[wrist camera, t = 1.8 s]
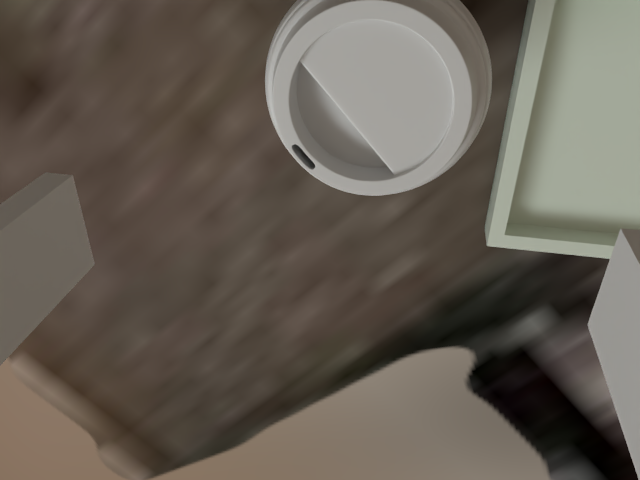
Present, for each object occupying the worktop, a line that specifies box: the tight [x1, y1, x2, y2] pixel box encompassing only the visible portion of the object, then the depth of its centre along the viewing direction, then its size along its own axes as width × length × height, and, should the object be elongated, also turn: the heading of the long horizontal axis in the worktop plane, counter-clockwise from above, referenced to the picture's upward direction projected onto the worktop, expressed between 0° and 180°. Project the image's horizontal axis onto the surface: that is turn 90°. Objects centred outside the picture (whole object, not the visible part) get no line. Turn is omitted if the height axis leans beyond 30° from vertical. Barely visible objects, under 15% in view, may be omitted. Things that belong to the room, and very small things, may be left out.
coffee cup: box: [265, 0, 492, 196], centre depth 28 cm, size 10×10×15 cm
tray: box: [485, 0, 640, 259], centre depth 34 cm, size 17×15×2 cm
